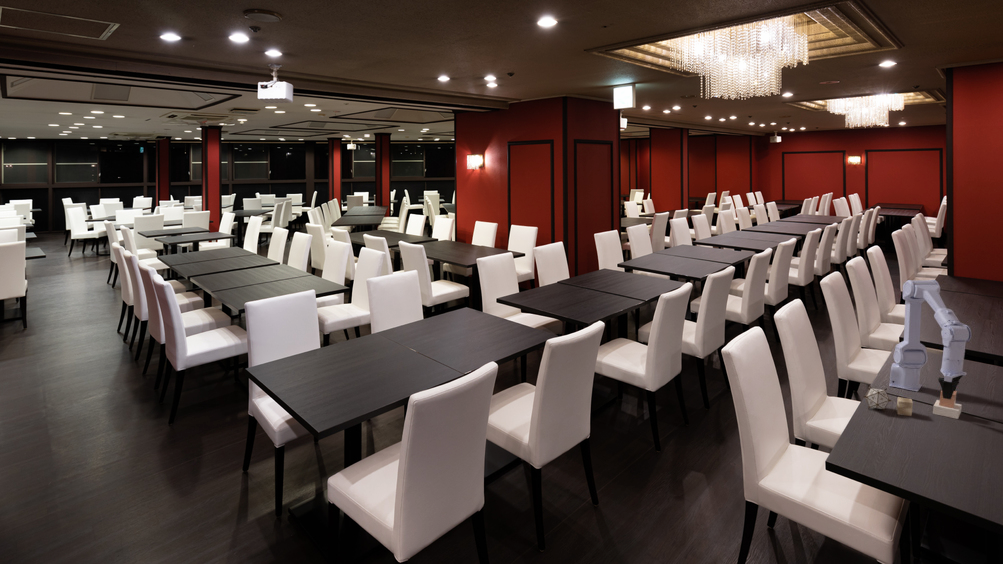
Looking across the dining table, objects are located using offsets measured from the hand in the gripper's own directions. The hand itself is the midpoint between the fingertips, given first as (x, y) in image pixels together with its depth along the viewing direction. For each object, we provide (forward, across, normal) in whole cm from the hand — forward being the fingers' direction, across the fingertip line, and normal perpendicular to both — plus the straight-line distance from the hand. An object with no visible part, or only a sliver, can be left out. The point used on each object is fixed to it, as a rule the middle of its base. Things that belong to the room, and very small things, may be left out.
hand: (948, 395), depth 197 cm
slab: (+7, 0, 0) cm, 7 cm away
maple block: (+7, -9, +11) cm, 16 cm away
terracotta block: (+4, 0, 0) cm, 4 cm away
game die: (+7, -11, +19) cm, 23 cm away
